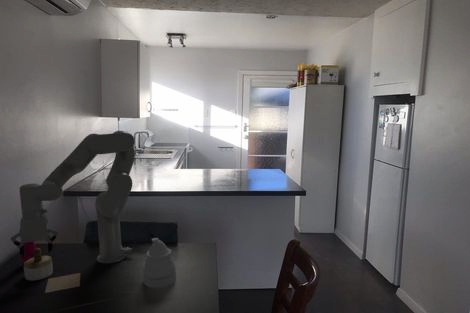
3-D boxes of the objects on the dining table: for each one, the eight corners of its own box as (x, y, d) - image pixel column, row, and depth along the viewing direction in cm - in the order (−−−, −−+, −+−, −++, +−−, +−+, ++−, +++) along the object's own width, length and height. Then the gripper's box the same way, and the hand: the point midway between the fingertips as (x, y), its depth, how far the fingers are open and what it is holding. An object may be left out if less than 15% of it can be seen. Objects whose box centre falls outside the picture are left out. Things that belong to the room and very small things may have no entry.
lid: (52, 256, 151) (51, 243, 151) (50, 265, 142) (49, 251, 141) (26, 260, 148) (24, 247, 147) (22, 270, 139) (20, 256, 138)
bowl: (53, 268, 152) (52, 256, 152) (51, 278, 143) (50, 265, 142) (27, 272, 148) (26, 260, 148) (23, 283, 139) (22, 270, 139)
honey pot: (165, 290, 132) (163, 245, 130) (137, 285, 137) (134, 241, 134) (181, 275, 144) (180, 233, 142) (155, 270, 149) (153, 230, 146)
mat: (80, 274, 146) (80, 272, 146) (79, 287, 135) (79, 286, 135) (48, 280, 142) (48, 278, 142) (45, 294, 131) (44, 292, 131)
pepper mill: (31, 268, 153) (26, 225, 150) (17, 267, 154) (12, 224, 151) (43, 261, 160) (39, 219, 157) (30, 260, 161) (25, 218, 158)
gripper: (57, 208, 149) (60, 246, 151) (10, 214, 142) (14, 253, 145) (55, 213, 142) (59, 253, 144) (6, 219, 135) (10, 261, 138)
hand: (37, 253), depth 144 cm, fingers open, 9 cm apart
